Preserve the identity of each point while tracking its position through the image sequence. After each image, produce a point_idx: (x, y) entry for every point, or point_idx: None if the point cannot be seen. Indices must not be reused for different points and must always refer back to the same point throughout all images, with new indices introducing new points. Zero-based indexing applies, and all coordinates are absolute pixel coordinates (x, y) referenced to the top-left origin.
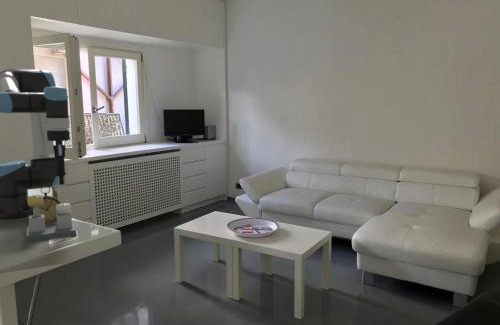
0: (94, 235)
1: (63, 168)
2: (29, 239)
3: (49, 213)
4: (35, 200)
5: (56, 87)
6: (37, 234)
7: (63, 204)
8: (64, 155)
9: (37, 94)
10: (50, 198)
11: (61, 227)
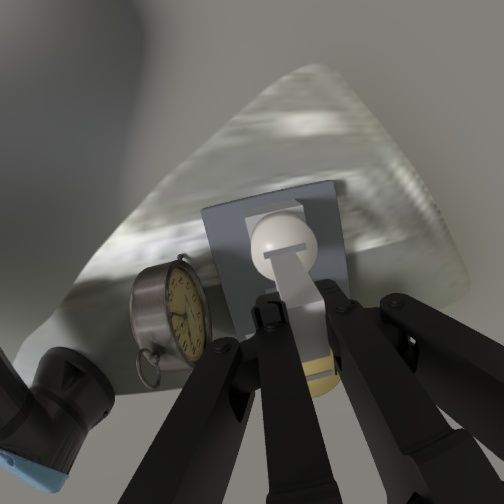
0: (342, 124)
1: (448, 327)
2: None
3: (186, 303)
4: None
5: None
6: (343, 291)
7: (289, 248)
8: (477, 450)
9: None
10: (173, 327)
11: None
